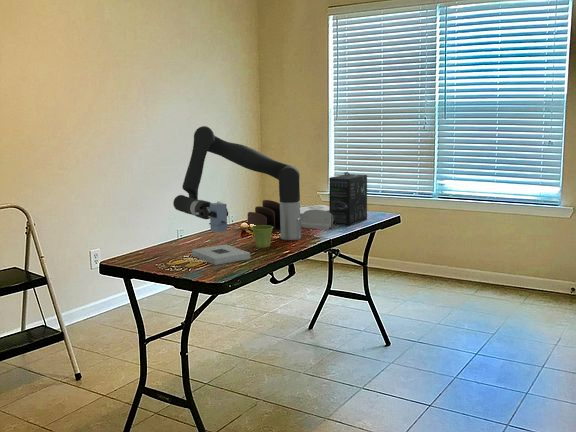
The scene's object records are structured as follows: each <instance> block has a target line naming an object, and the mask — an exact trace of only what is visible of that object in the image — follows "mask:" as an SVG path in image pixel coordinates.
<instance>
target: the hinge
mask: <svg viewBox="0 0 576 432" xmlns="http://www.w3.org/2000/svg"><path fill="white" fill-rule="evenodd" d="M301 228H306V229H318V230H326V231H327V230H330V229H334V224H333V215H332V214H331V213H329V212H327V211H324V210H318V209H314V210H308V211H305V212H304V214H303V218H302V222H301Z"/></svg>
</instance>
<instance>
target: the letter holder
mask: <svg viewBox="0 0 576 432" xmlns="http://www.w3.org/2000/svg"><path fill="white" fill-rule="evenodd" d="M254 208H255V209H254V211H248V212H247V225H248V224H254V225H256V226H258V225H269V226H273V229H272V233H280V202H278V201H274V200H269V199H263V200H262V205H261V206H259V205H258V206H255V207H254ZM272 233H271V234H272Z"/></svg>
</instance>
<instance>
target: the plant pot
mask: <svg viewBox="0 0 576 432" xmlns="http://www.w3.org/2000/svg"><path fill="white" fill-rule="evenodd" d="M272 229H273V226H269V225H258V226H253V227H252V228H251V230H252V232H253V237H254V241H255V247H256V248H258V249H265V248H270V247H271V240H272Z"/></svg>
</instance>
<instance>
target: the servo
mask: <svg viewBox="0 0 576 432" xmlns="http://www.w3.org/2000/svg"><path fill="white" fill-rule="evenodd" d="M227 206H228V205H227V203H224V201H222V200H221V201H220V200H219V201H216V202H211V203H210V211H213V212H216V213H217V218H213V217H210V219H209V223H208V225H210V231H211V232H215V233H223V232H228V227H229V226H230V225H229V224H228V216H227V211H228V208H227Z"/></svg>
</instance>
